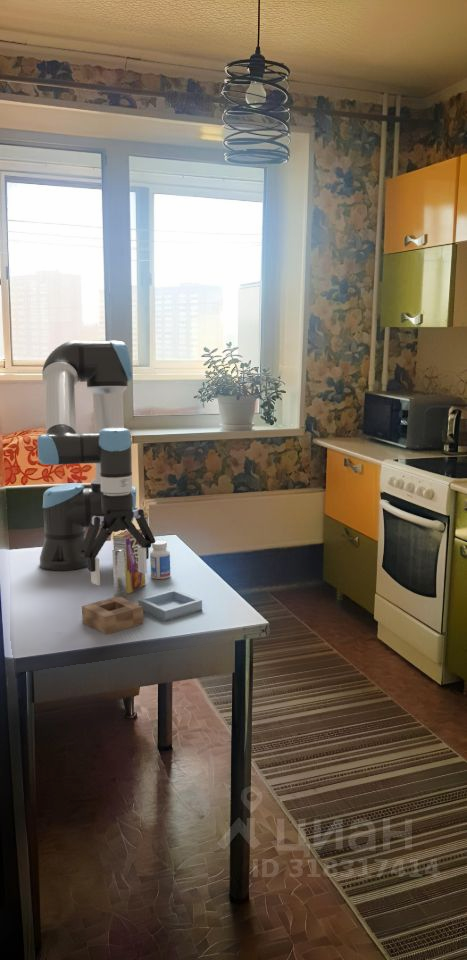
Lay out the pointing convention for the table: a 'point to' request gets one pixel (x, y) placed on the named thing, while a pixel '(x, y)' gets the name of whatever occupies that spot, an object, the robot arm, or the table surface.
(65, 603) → the table surface
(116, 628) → the bore block
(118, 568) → the cylinder
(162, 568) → the pill bottle
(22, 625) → the table surface
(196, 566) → the table surface
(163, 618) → the tray
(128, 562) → the candy box
